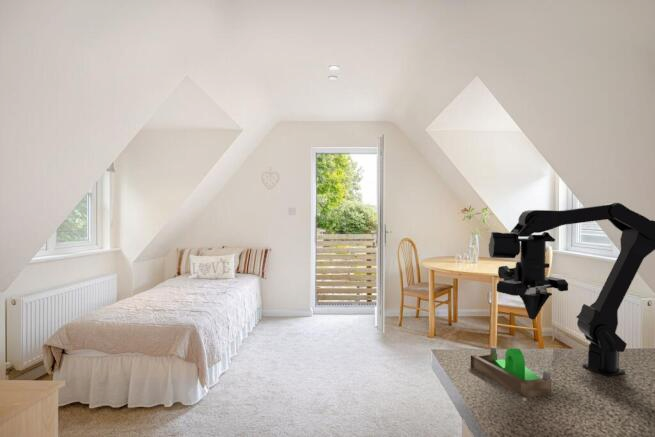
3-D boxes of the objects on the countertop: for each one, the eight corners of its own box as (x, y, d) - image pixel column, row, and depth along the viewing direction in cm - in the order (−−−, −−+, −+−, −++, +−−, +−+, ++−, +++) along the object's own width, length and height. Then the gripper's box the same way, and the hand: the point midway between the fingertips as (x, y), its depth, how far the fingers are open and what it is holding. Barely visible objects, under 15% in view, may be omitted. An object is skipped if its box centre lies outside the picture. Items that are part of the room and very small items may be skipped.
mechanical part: (542, 389, 87) (543, 353, 87) (515, 388, 87) (516, 353, 87) (517, 367, 99) (518, 336, 99) (494, 367, 99) (494, 336, 99)
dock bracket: (493, 363, 101) (493, 346, 101) (551, 393, 84) (552, 373, 84) (470, 366, 99) (470, 349, 99) (525, 398, 82) (526, 377, 82)
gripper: (533, 254, 111) (532, 308, 111) (481, 256, 104) (480, 314, 104) (570, 258, 100) (569, 318, 100) (514, 261, 94) (513, 326, 94)
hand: (532, 319), depth 100 cm, fingers closed
